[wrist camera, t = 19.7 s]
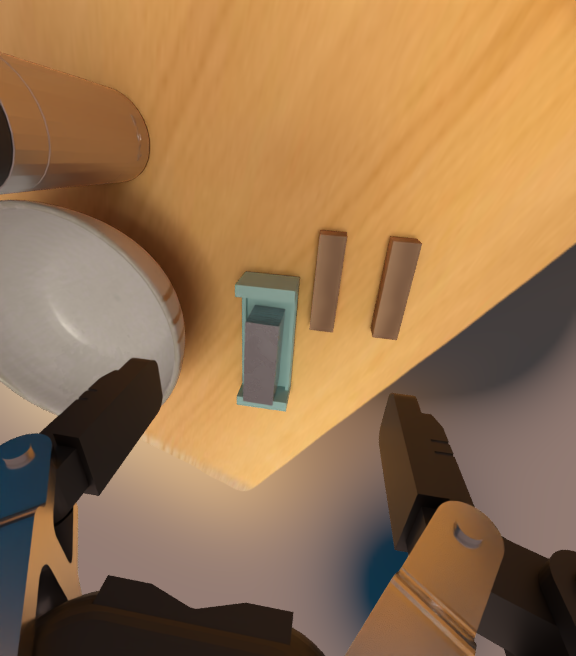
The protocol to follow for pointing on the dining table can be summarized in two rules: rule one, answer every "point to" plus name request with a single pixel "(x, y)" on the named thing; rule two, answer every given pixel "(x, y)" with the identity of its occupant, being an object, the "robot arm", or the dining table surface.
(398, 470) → the robot arm
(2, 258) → the decorative bowl
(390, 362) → the dining table surface
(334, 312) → the slotted beam
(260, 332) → the grey rectangular block
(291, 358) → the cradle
